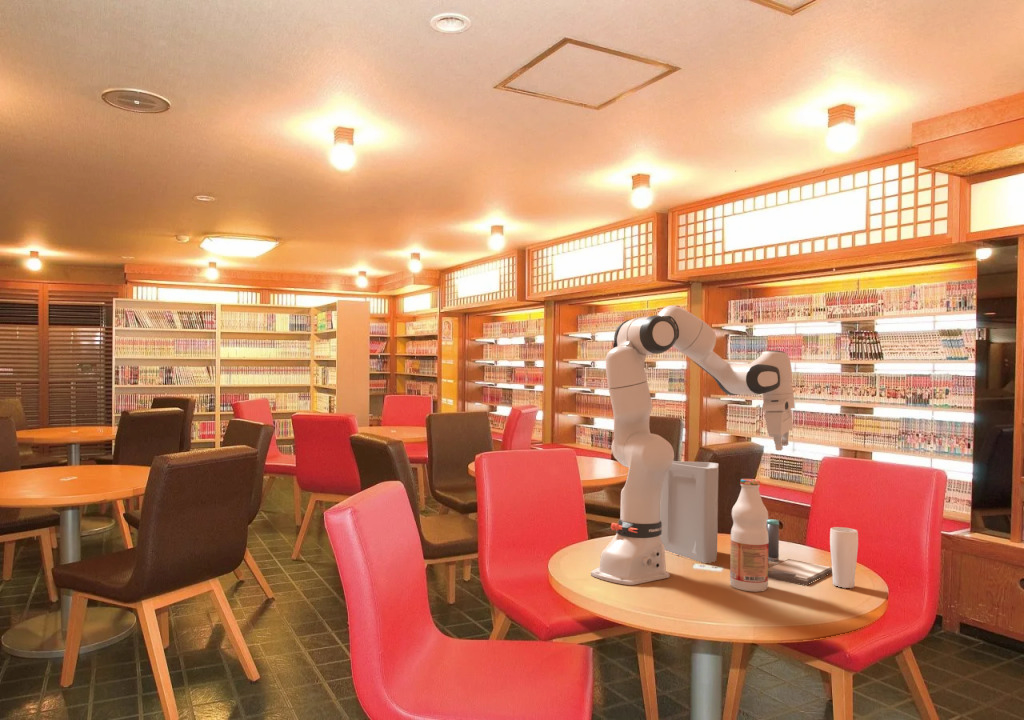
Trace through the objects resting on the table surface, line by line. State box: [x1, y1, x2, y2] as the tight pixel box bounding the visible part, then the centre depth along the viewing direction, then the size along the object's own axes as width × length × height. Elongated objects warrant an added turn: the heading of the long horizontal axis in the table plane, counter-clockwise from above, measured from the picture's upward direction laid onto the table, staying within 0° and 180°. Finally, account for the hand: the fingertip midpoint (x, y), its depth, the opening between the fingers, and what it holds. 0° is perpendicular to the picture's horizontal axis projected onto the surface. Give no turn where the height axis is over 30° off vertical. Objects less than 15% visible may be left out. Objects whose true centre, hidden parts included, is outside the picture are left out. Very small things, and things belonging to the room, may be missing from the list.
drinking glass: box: [829, 526, 859, 589], centre depth 185 cm, size 7×7×15 cm
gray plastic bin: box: [660, 460, 719, 564], centre depth 217 cm, size 19×15×28 cm
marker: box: [766, 518, 780, 562], centre depth 212 cm, size 4×4×12 cm
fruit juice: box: [729, 478, 769, 593], centre depth 183 cm, size 9×9×28 cm
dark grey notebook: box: [768, 558, 832, 586], centre depth 197 cm, size 20×13×2 cm, turn 136°
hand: (782, 447), depth 213 cm, fingers open, 8 cm apart
